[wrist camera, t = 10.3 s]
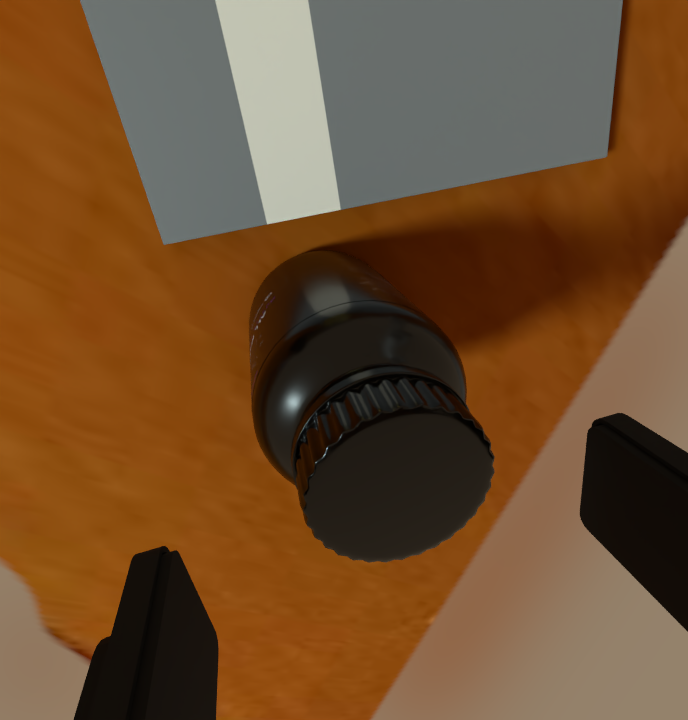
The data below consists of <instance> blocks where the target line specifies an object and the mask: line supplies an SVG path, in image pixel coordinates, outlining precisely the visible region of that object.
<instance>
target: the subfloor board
mask: <svg viewBox="0 0 688 720" xmlns="http://www.w3.org/2000/svg"><path fill="white" fill-rule="evenodd" d="M80 1H81V4H82V7H83V10H84V13H85V16H86V19H87V22H88V25H89V28H90V31H91V33H92V36H93V39H94V42H95V45H96V48H97V51H98V54H99V57H100V60H101V63H102V66H103V68H104V71H105V74H106V77H107V80H108V83H109V86H110V89H111V92H112V95H113V98H114V101H115V104H116V106H117V109H118V112H119V115H120V118H121V121H122V124H123V127H124V130H125V133H126V136H127V139H128V142H129V144H130V147H131V150H132V153H133V156H134V159H135V162H136V165H137V168H138V171H139V174H140V177H141V179H142V182H143V185H144V188H145V191H146V194H147V197H148V200H149V203H150V206H151V209H152V212H153V215H154V217H155V220H156V223H157V226H158V229H159V232H160V235H161V238H162V241H163V244H164V245H165V244H170V243H175V242H180V241H185V240H190V239H195V238H200V237H205V236H210V235H215V234H221V233H226V232H231V231H236V230H241V229H246V228H251V227H256V226H261V225H266V224H271V223H276V222H281V221H286V220H291V219H296V218H301V217H306V216H311V215H316V214H321V213H327V212H332V211H337V210H342V209H347V208H352V207H357V206H362V205H367V204H372V203H377V202H382V201H387V200H392V199H397V198H402V197H407V196H412V195H417V194H422V193H427V192H432V191H438V190H443V189H448V188H453V187H458V186H463V185H468V184H473V183H478V182H483V181H488V180H493V179H498V178H503V177H508V176H513V175H518V174H523V173H528V172H533V171H538V170H544V169H549V168H554V167H559V166H564V165H569V164H574V163H579V162H584V161H589V160H594V159H599V158H604V157H607V152H608V142H609V132H610V122H611V113H612V103H613V93H614V83H615V73H616V63H617V53H618V43H619V33H620V24H621V14H622V4H623V0H80Z"/></svg>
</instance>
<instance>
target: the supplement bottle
mask: <svg viewBox="0 0 688 720" xmlns="http://www.w3.org/2000/svg"><path fill="white" fill-rule="evenodd" d="M249 342H250V371H251V399H252V415H253V423H254V429H255V433H256V437H257V440H258V442H259V445H260V447H261V449H262V451H263V453H264V455H265V456H266V458H267V459H268V461H269V462H270V463H271V465H272V466H273V467H274V468H275V469H276V470H277V471H278V472H279V473H280V474H281V475H282V476H283V477H284V478H285V479H287V480H288V481H290V482H291V483H292V484H294V485H296V487H297V490H298V495H299V501H300V506H301V508H302V510H303V515H304V520H305V522H306V524H307V526H308V527H309V528H311V529H312V533H313V535H314V537H315V538H316V539H318V540H321V541H322V542H323V544H324V546H325V548H328V549H332V550H334V551H335V552H336V553H337V554H338V555H341V556H348V557H349V558H350V559H352V560H364V561H366V562H375V561H381V562H388V561H391V560H394V559H395V560H403V559H405V558H407V557H409V556H412V555H419V554H421V553H423V552H424V551H426V550H428V549H431V548H435V547H436V546H438V545H439V544H440V543H441V542H443V541H445V540H447V539H449V538H451V537H452V536H453V535H454V533H455V532H456V531H458V530H460V529H461V528H463V527H464V526H465V525H466V523H467V521H468V520H469V519H470V518H472V517H473V516H474V515H475V514H476V512H477V509H478V507H479V506H480V505H481V504H482V503H483V502H484V501H485V495H486V493H487V492H488V490H489V489H490V487H491V478H492V476H493V474H494V468H493V466H492V465H493V462H494V455H493V453H492V451H491V450H490V449H491V443H490V440H489V438H488V437H487V436H486V435H485V433H484V431H483V428H482V426H481V425H480V424H479V422H478V421H477V420H476V419H475V418H474V417H473V416H472V414H471V413H470V411H469V409H468V407H467V405H466V393H467V387H466V377H465V372H464V368H463V365H462V362H461V359H460V357H459V355H458V352H457V350H456V348H455V347H454V345H453V344H452V342H451V341H450V339H449V338H448V337H447V336H446V335H445V333H444V332H443V331H442V330H441V329H440V328H439V327H438V326H437V325H436V324H435V323H434V322H433V321H432V320H431V319H430V318H429V317H427V316H426V315H425V314H424V313H423V312H422V311H421V310H419V309H418V308H417V307H416V306H415V305H414V304H413V303H412V302H410V301H409V300H408V299H407V298H406V297H405V296H404V295H403V294H401V293H400V292H399V291H398V290H397V289H396V288H395V287H393V286H392V285H391V284H390V283H389V282H388V281H387V280H386V279H384V278H383V277H382V276H381V275H380V274H379V273H378V272H376V271H375V270H374V269H373V268H371V267H370V266H369V265H368V264H366V263H365V262H363V261H361V260H360V259H358V258H356V257H354V256H351V255H348V254H346V253H342V252H337V251H328V250H321V251H312V252H307V253H303V254H300V255H297V256H295V257H293V258H291V259H289V260H287V261H285V262H283V263H282V264H280V265H279V266H278V267H277V268H275V269H274V270H273V271H272V272H271V273H270V274H269V275H268V276H267V277H266V278H265V280H264V281H263V283H262V284H261V285H260V287H259V289H258V291H257V293H256V295H255V297H254V300H253V303H252V307H251V312H250V319H249Z"/></svg>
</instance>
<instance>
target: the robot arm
mask: <svg viewBox="0 0 688 720" xmlns="http://www.w3.org/2000/svg"><path fill="white" fill-rule="evenodd" d="M580 517H581V520H582V522H583V524H584V526H585V527H586V528H587V530H589V532H590V533H591V534H592V535H593V536H594V537H595V538H596V539H597V540H598V541H599V542H600V543H601V544H602V545H603V546H604V547H605V548H606V549H607V550H608V551H609V552H610V553H611V554H612V555H613V556H614V557H615V558H616V559H617V560H618V561H619V562H620V563H621V564H622V565H623V566H624V567H625V568H626V569H627V570H628V571H629V572H630V573H631V574H632V576H634V578H635V579H636V580H637V581H638V582H639V583H640V584H641V585H642V586H643V587H644V588H645V589H646V590H647V591H648V592H649V593H650V594H651V595H652V596H653V597H654V598H655V599H656V600H657V601H658V602H659V603H660V604H661V605H662V606H663V607H664V608H665V609H666V610H667V611H668V612H669V613H670V614H671V615H672V616H673V617H674V618H675V619H676V620H677V621H678V622H679V623H680V624H681V625H682V626H683V627H684V628H685V629H686V630H687V631H688V453H687V452H685V451H684V450H682V449H681V448H679V447H677V446H676V445H674V444H673V443H671V442H669V441H668V440H666V439H665V438H663V437H661V436H660V435H658V434H657V433H655V432H653V431H652V430H650V429H648V428H647V427H645V426H643V425H642V424H640V423H639V422H637V421H636V420H634V419H632V418H631V417H629V416H628V415H625V414H623V413H617V414H613V415H610V416H606V417H603V418H599V419H597V420H595V421H594V422H593V423H592V427H591V428H590V429H589V430H588V433H587V443H586V454H585V464H584V475H583V485H582V495H581V505H580ZM217 676H218V640H217V635H216V632H215V629H214V627H213V625H212V623H211V621H210V619H209V616H208V614H207V612H206V610H205V608H204V606H203V603H202V601H201V599H200V597H199V595H198V593H197V591H196V588H195V586H194V584H193V582H192V580H191V578H190V576H189V573H188V571H187V569H186V567H185V565H184V563H183V561H182V558H181V556H180V554H179V552H178V551H172V552H170V551H169V550H168V548H167V547H165V546H162V547H159V548H156V549H152V550H149V551H145V552H142V553H138V554H135V555H134V556H133V558H132V561H131V564H130V568H129V571H128V575H127V579H126V582H125V586H124V590H123V593H122V597H121V601H120V604H119V608H118V612H117V615H116V619H115V623H114V626H113V630H112V634H111V636H109V637H106V638H104V639H102V640H101V641H100V642H99V644H98V645H97V646H96V649H95V651H94V654H93V656H92V660H91V663H90V666H89V670H88V673H87V676H86V680H85V683H84V687H83V690H82V693H81V696H80V700H79V703H78V706H77V710H76V713H75V717H74V720H216V702H217Z"/></svg>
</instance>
